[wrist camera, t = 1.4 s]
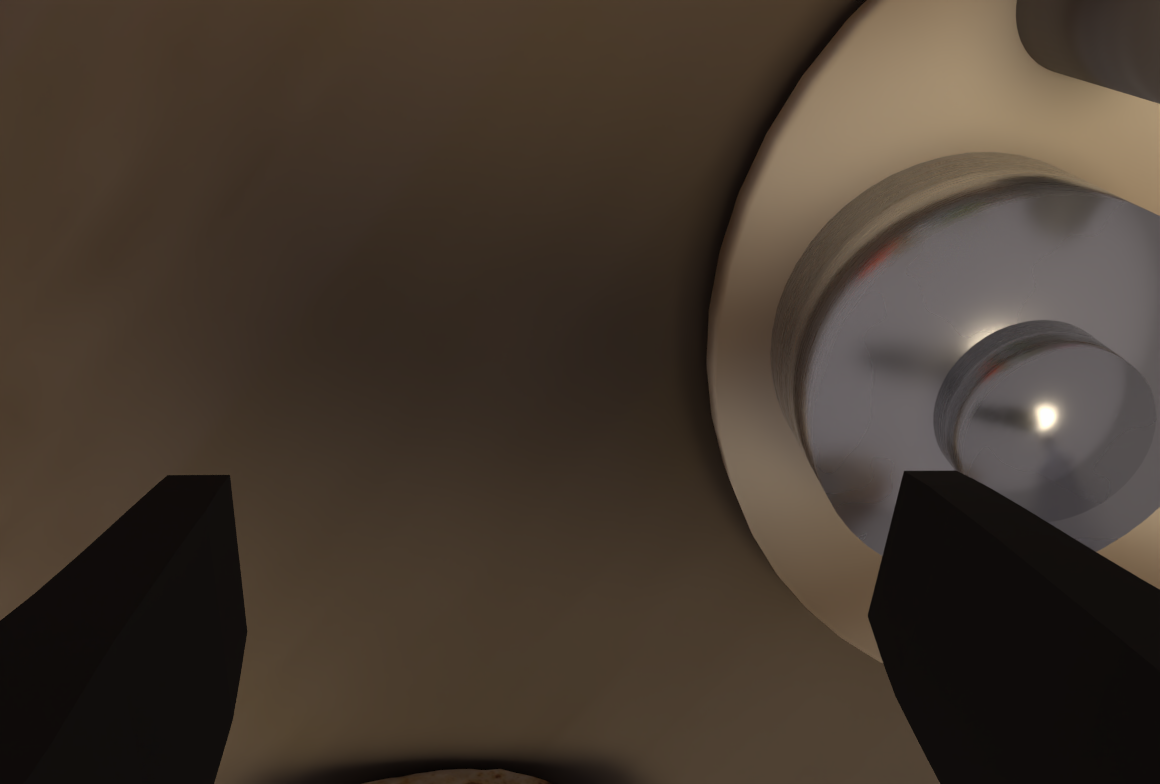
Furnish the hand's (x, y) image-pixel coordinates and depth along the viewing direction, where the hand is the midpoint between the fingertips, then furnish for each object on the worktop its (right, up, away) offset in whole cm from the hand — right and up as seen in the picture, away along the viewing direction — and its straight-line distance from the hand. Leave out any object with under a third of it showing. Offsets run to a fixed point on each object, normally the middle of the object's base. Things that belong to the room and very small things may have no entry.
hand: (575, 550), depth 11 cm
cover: (+7, +3, +9) cm, 11 cm away
